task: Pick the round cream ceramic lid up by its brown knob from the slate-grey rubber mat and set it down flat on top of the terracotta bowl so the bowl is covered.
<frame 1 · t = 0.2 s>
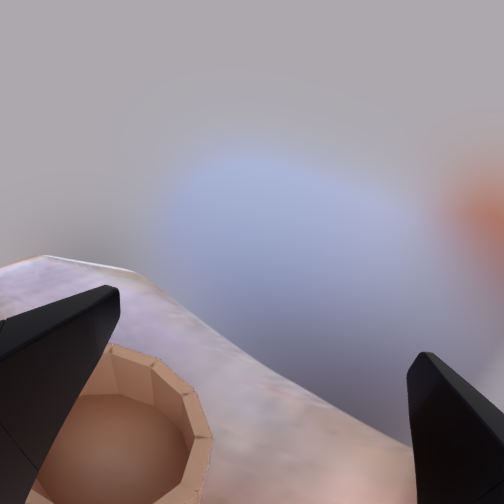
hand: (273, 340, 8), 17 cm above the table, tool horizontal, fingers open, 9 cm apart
terracotta bowl: (110, 462, 16), on the table
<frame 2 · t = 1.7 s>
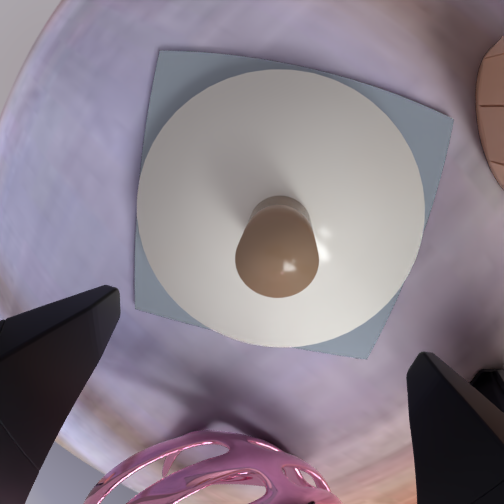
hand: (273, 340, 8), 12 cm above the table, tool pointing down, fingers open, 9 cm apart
spiral basket: (246, 453, 31), on the table
ceramic lid: (280, 220, 19), resting on rubber mat
rubber mat: (280, 217, 19), on the table
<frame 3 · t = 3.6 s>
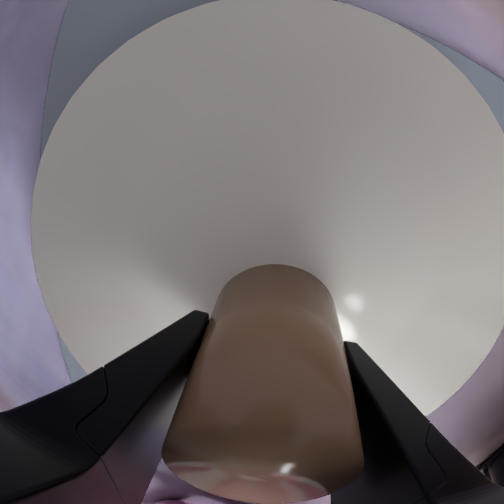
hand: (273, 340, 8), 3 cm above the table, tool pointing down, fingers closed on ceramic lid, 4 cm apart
ceramic lid: (276, 298, 10), resting on rubber mat, touching gripper
rubber mat: (276, 290, 10), on the table
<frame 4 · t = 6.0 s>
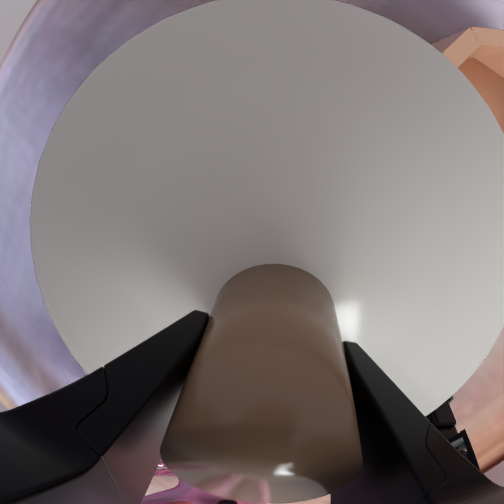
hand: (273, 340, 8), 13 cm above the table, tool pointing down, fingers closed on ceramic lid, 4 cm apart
spiral basket: (188, 450, 33), on the table
terracotta bowl: (470, 143, 16), on the table
ceramic lid: (275, 297, 10), point 10 cm above the table, touching gripper
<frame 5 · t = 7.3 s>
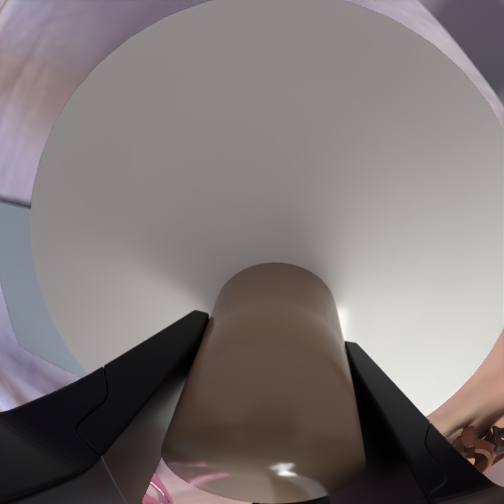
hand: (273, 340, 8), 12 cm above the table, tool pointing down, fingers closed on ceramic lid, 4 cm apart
pottery mug: (472, 432, 28), on the table
spiral basket: (120, 452, 36), on the table
ceramic lid: (276, 296, 10), point 10 cm above the table, touching gripper
rubber mat: (61, 306, 25), on the table
when the fingers open (9 cm above the table, at t = 8.5 s): ceramic lid drops 1 cm, resting on terracotta bowl.
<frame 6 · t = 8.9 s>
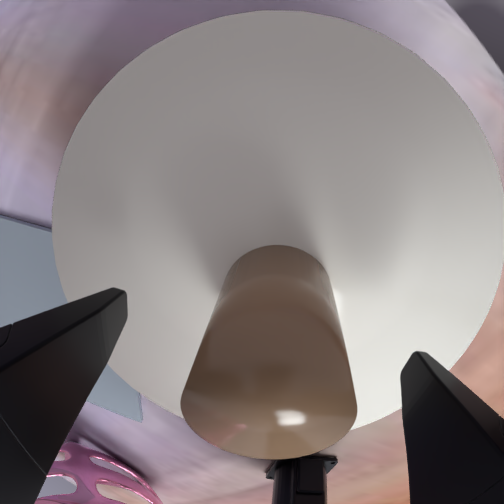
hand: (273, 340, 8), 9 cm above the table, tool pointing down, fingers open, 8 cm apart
spiral basket: (114, 465, 34), on the table
ceramic lid: (278, 278, 11), point 6 cm above the table, touching terracotta bowl
rubber mat: (46, 322, 22), on the table
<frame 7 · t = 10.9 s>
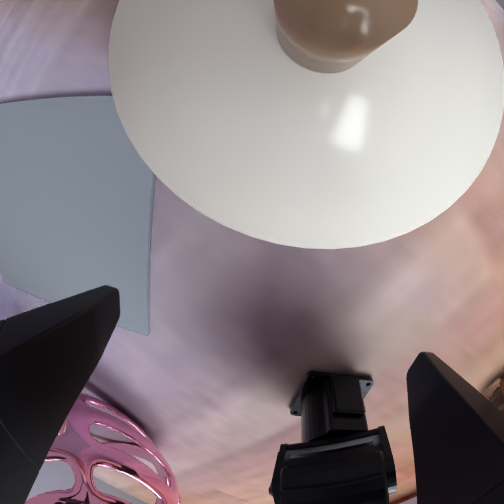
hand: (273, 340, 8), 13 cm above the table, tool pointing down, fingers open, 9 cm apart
spiral basket: (114, 420, 33), on the table
ceramic lid: (319, 39, 10), point 6 cm above the table, touching terracotta bowl
rubber mat: (53, 211, 21), on the table
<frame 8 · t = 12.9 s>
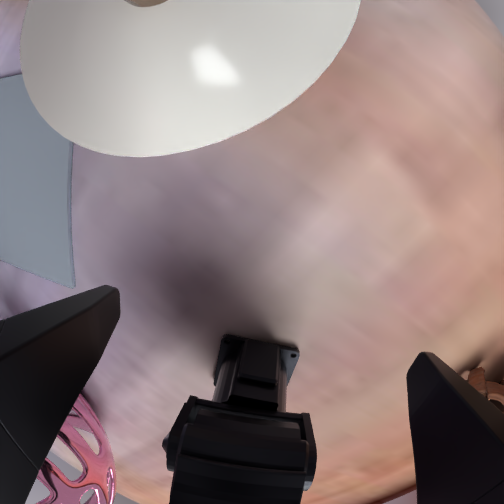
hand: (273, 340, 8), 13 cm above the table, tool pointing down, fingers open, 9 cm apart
pottery mug: (482, 382, 25), on the table
spiral basket: (62, 389, 33), on the table
rubber mat: (4, 174, 21), on the table
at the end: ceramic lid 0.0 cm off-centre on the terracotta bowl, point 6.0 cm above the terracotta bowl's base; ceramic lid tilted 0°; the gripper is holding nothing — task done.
